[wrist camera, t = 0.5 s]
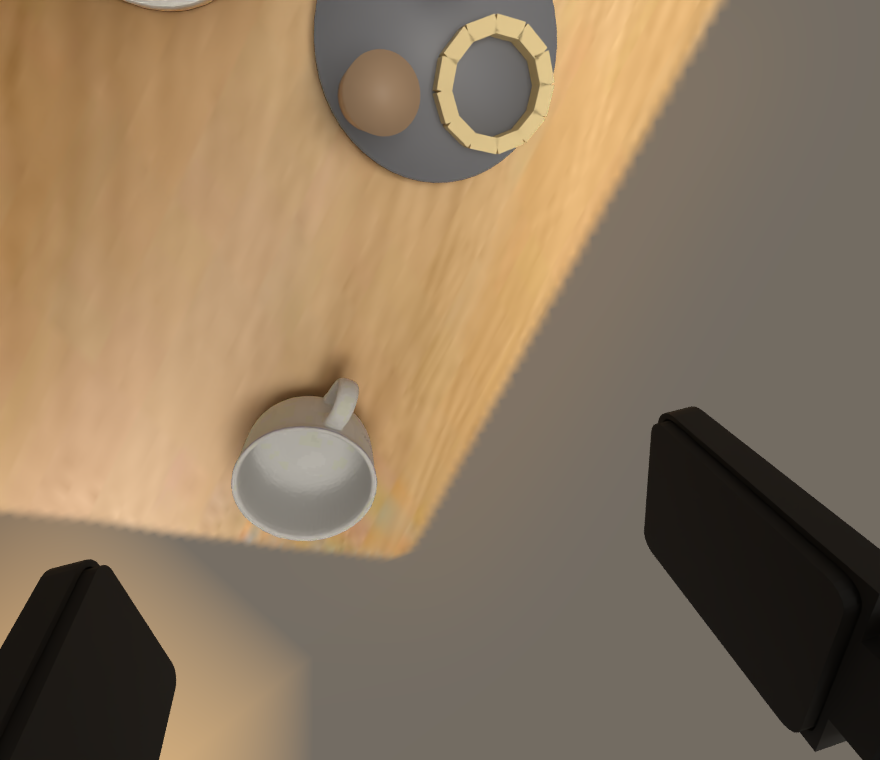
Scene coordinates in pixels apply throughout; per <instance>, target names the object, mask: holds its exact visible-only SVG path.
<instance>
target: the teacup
mask: <svg viewBox="0 0 880 760" xmlns="http://www.w3.org/2000/svg"><path fill="white" fill-rule="evenodd" d="M358 393H359V387H358V384H357V383H356V382H354V381H353V380H350V379H347V378H339V379H337V380H336V381H335V383H334V384H333V385H332V387H331V388H330V390H329V391H328V393H326V394H325V396H324V397H317V396H301V397H294V398H290V399H287V400H284V401H282V402H280V403H277V404H276V405H274V406H272V407H271V408H269V409H268V410H267V411H266V412H264V413H263V414H262V415H261V416H260V417H259V418H258V420H257V421H256V422H255V424H254V425H253V427H252V428H251V430H250V432H249V434H248V436H247V439H246V441H245V443H244V446H243V449H242V451H241V454H240V456H239V458H238V460H237V462H236V464H235V466H234V469H233V473H232V481H231V488H232V493H233V497H234V500H235V503H236V504H237V506H238V508H239V509H240V511H241V512H242V514H243V515H244V516H245V517H246V518H247V519H248V520H249V521H250V522H251V523H252V524H254V525H255V526H257V527H258V528H260V529H261V530H263V531H265V532H267V533H269V534H272V535H274V536H276V537H279V538H285V539H289V540H296V541H314V540H320V539H325V538H329V537H332V536H334V535H337V534H339V533H342V532H344V531H346V530H348V529H349V528H350V527H352V526H354V525H355V524H356V523H357V522H359V521H360V520H361V519H362V518H363V517H364V515H365V514H366V513H367V512H368V510H369V509H370V507H371V506H372V503H373V501H374V497H375V494H376V488H377V477H376V472H375V468H374V461H373V452H372V446H371V442H370V438H369V436H368V433H367V430H366V428H365V427H364V425H363V423H362V422H361V420H360V419H359V418H358V417H357V416H356V415H355V414H354V413H353V411H354V409H355V406H356V403H357V399H358Z"/></svg>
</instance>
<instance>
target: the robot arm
mask: <svg viewBox="0 0 880 760" xmlns="http://www.w3.org/2000/svg"><path fill="white" fill-rule="evenodd" d="M123 1H125V2H128V3H131V4H134V5H137V6H140V7H143V8H147V9H153V10H160V11H182V10H190V9H193V8H196V7H200V6H203V5H206V4H208V3H210V2H211V1H213V0H123ZM644 535H645V539H646V542H647V545H648V547H649V549H650V550H651V552H652V553H653V554H654V555H655V557H656V558H657V560H658V561H659V562H660V564H661V565H662V566H663V568H664V569H665V570H666V571H667V573H668V574H669V575H670V577H671V578H672V579H673V581H674V582H675V583H676V584H677V586H678V587H679V588H680V590H681V591H682V592H683V594H684V595H685V596H686V598H687V599H688V600H689V602H690V603H691V604H692V605H693V607H694V608H695V610H696V611H697V612H698V613H699V615H700V616H701V617H702V619H703V620H704V621H705V623H706V624H707V625H708V626H709V628H710V629H711V630H712V632H713V633H714V634H715V636H716V637H717V638H718V640H719V641H720V642H721V644H722V645H723V646H724V648H725V649H726V650H727V651H728V653H729V654H730V655H731V657H732V658H733V659H734V661H735V662H736V663H737V665H738V666H739V667H740V668H741V670H742V671H743V672H744V674H745V675H746V676H747V678H748V679H749V680H750V681H751V683H752V684H753V685H754V687H755V688H756V689H757V691H758V692H759V693H760V695H761V696H762V697H763V699H764V700H765V701H766V703H767V704H768V705H769V706H770V708H771V709H772V710H773V712H774V713H775V714H776V716H777V717H778V718H779V720H780V721H781V722H782V723H783V724H784V725H785V726H786V727H787V728H788V729H789V730H791V731H793V732H800V733H801V734H802V736H803V737H804V738H805V739H806V741H807V742H808V743H809V745H810V746H811V747H812V748H813V749H814V751H815V752H816V751H819V750H822V749H824V748H827V747H830V746H833V745H836V744H839V743H841V742H844V741H847V742H848V743H849V744H850V745H851V747H852V748H853V749H854V750H855V751H856V753H857V754H858V755H859V756H860V757H861V758H862V760H880V549H879V548H877V547H876V546H875V545H874V544H872V543H871V542H870V541H869V540H867V539H866V538H865V537H864V536H862V535H861V534H860V533H858V532H857V531H856V530H855V529H853V528H852V527H851V526H849V525H848V524H847V523H846V522H844V521H843V520H842V519H840V518H839V517H838V516H836V515H835V514H834V513H833V512H831V511H830V510H829V509H828V508H826V507H825V506H824V505H823V504H821V503H820V502H819V501H817V500H816V499H815V498H814V497H812V496H811V495H810V494H808V493H807V492H806V491H805V490H803V489H802V488H801V487H799V486H798V485H797V484H796V483H794V482H793V481H792V480H790V479H789V478H788V477H787V476H785V475H784V474H783V473H782V472H780V471H779V470H778V469H776V468H775V467H774V466H773V465H771V464H770V463H769V462H767V461H766V460H765V459H764V458H762V457H761V456H760V455H759V454H757V453H756V452H755V451H753V450H752V449H751V448H749V447H748V446H747V445H746V444H744V443H743V442H742V441H741V440H739V439H738V438H737V437H735V436H734V435H733V434H731V433H730V432H729V431H728V430H727V429H725V428H724V427H723V426H721V425H720V424H719V423H718V422H716V421H715V420H714V419H712V418H711V417H710V416H709V415H707V414H706V413H705V412H703V411H702V410H701V409H699V408H697V407H688V408H684V409H680V410H676V411H672V412H668V413H664V414H662V415H661V416H660V418H659V421H658V424H655V425H654V426H653V427H652V431H651V443H650V457H649V471H648V485H647V499H646V513H645V526H644ZM175 687H176V674H175V669H174V666H173V664H172V662H171V661H170V659H169V657H168V656H167V654H166V653H165V651H164V650H163V648H162V647H161V645H160V644H159V642H158V640H157V639H156V637H155V636H154V634H153V633H152V631H151V630H150V628H149V626H148V625H147V623H146V622H145V620H144V619H143V617H142V616H141V614H140V613H139V611H138V610H137V608H136V606H135V605H134V603H133V602H132V600H131V599H130V597H129V596H128V594H127V592H126V591H125V589H124V588H123V586H122V585H121V583H120V582H119V580H118V579H117V577H116V576H115V574H114V573H113V571H112V570H111V568H110V567H108V566H106V565H102V566H100V565H99V564H98V563H97V562H96V561H94V560H91V559H90V560H83V561H80V562H76V563H72V564H68V565H64V566H60V567H56V568H52V569H49V570H48V571H46V572H45V573H44V574H43V576H42V577H41V578H40V580H39V582H38V584H37V585H36V587H35V589H34V591H33V592H32V594H31V596H30V598H29V599H28V601H27V603H26V605H25V607H24V608H23V610H22V612H21V613H20V615H19V617H18V619H17V621H16V622H15V624H14V626H13V627H12V629H11V631H10V633H9V634H8V636H7V638H6V640H5V641H4V643H3V645H2V647H1V649H0V760H159V757H160V753H161V748H162V744H163V740H164V735H165V731H166V727H167V722H168V718H169V714H170V709H171V705H172V701H173V696H174V692H175Z"/></svg>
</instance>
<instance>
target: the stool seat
mask: <svg viewBox="0 0 880 760" xmlns="http://www.w3.org/2000/svg"><path fill="white" fill-rule="evenodd" d="M314 47H315V58H316V65H317V70H318V75H319V79H320V83H321V86H322V89H323V92H324V95H325V98H326V100H327V102H328V104H329V106H330V109H331V111H332V113H333V115H334V116H335V118H336V120H337V121H338V123H339V125H340V126H341V128H342V129H343V130H344V132H345V133H346V134H347V135H348V137H349V138H350V139H351V141H352V142H353V143H354V144H355V145H356V146H357V147H358V148H359V149H360V150H361V151H362V152H364V153H365V154H366V155H367V156H369V157H370V158H371V159H372V160H374V161H375V162H376V163H378V164H379V165H381V166H383V167H384V168H386V169H388V170H389V171H391V172H394V173H396V174H398V175H401V176H403V177H406V178H410V179H413V180H417V181H423V182H432V183H442V182H453V181H459V180H463V179H466V178H470V177H473V176H476V175H478V174H480V173H482V172H484V171H486V170H488V169H490V168H492V167H493V166H495V165H496V164H498V163H499V162H501V161H502V160H503V159H504V158H506V157H507V156H508V155H509V154H510V153H511V152H513V150H514V149H515V148H516V147H518V146H521V145H523V144H524V142H527V141H528V140H529V139H530V137H531V136H532V135H533V134H534V133H535V131H536V130H537V129H538V128H539V126H540V125H541V124H542V123H543V122H544V120H545V119H544V117H547V113H548V109H549V105H550V101H551V98H552V94H553V90H554V85H551V84H552V83H554V82H555V81H554V76H553V73H554V68H555V61H556V50H557V27H556V19H555V10H554V5H553V1H552V0H317V4H316V11H315V20H314Z"/></svg>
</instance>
